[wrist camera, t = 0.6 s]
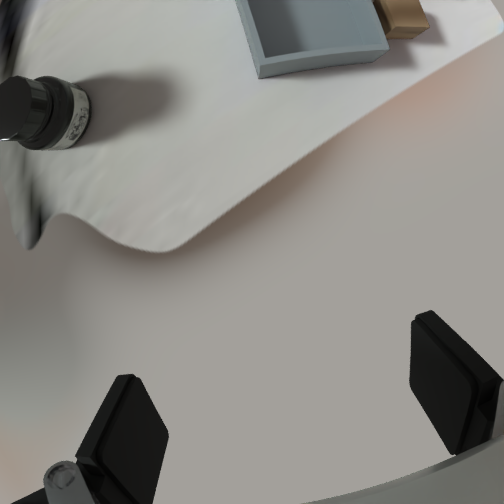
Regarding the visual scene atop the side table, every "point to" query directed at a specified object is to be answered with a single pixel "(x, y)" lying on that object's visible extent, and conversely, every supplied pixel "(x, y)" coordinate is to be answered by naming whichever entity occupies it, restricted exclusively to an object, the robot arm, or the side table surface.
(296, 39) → the tote
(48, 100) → the ink bottle
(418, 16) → the walnut cube
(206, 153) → the side table surface
